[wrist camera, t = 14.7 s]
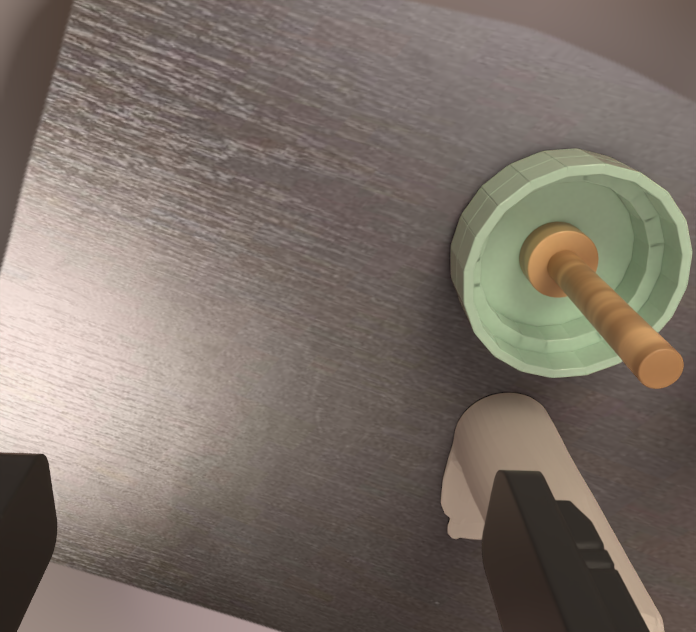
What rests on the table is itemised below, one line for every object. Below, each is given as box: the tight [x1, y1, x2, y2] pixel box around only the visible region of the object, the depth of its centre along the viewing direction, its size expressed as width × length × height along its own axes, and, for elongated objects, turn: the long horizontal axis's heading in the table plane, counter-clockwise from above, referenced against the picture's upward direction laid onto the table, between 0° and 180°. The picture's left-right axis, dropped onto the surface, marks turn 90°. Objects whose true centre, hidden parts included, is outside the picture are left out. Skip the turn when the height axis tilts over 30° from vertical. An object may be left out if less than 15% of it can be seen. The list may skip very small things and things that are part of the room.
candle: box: [441, 393, 664, 632], centre depth 41 cm, size 7×14×20 cm, turn 171°
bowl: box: [451, 148, 692, 378], centre depth 41 cm, size 13×13×5 cm
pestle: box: [519, 222, 684, 389], centre depth 36 cm, size 4×4×15 cm
